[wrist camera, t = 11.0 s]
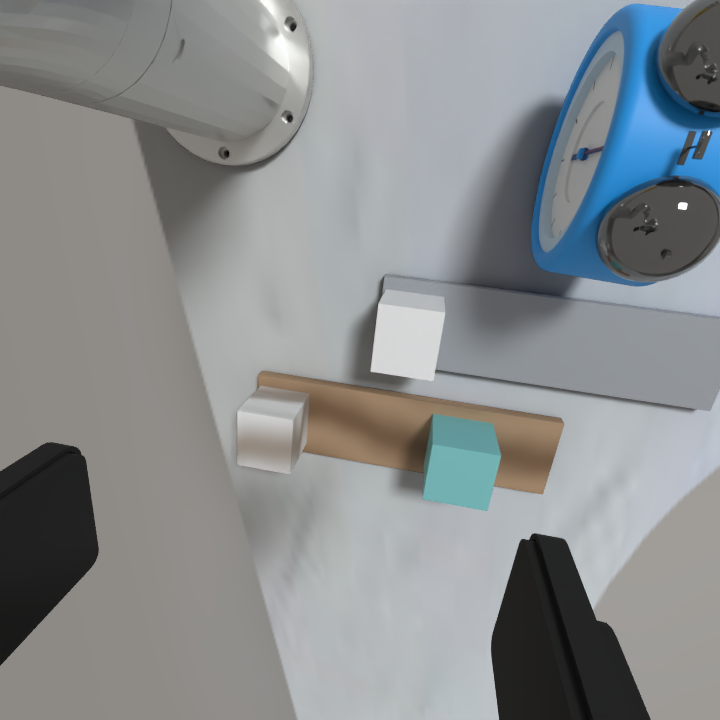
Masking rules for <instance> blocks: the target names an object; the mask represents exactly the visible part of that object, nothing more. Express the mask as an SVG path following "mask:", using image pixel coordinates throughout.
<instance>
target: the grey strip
mask: <svg viewBox="0 0 720 720" xmlns="http://www.w3.org/2000/svg"><path fill="white" fill-rule="evenodd" d="M435 369H436V370H442V371H449V372H456V373H462V374H469V375H475V376H482V377H489V378H495V379H502V380H508V381H515V382H521V383H528V384H535V385H541V386H548V387H554V388H561V389H567V390H574V391H581V392H587V393H594V394H600V395H607V396H613V397H620V398H627V399H633V400H640V401H646V402H653V403H660V404H666V405H673V406H679V407H686V408H692V409H699V410H706V411H710V410H711V408H712V405H713V403H714V401H715V399H716V396H717V394H718V392H719V389H720V317H714V316H706V315H699V314H691V313H683V312H675V311H668V310H660V309H652V308H645V307H637V306H629V305H622V304H614V303H606V302H598V301H591V300H583V299H575V298H568V297H560V296H552V295H544V294H537V293H529V292H521V291H514V290H506V289H498V288H490V287H483V286H475V285H467V284H460V283H452V282H444V281H436V280H429V279H421V278H413V277H406V276H398V275H390V274H385V276H384V284H383V292H382V298H381V300H380V302H379V304H378V312H377V320H376V329H375V337H374V346H373V354H372V362H371V371H370V372H376V373H383V374H389V375H396V376H402V377H409V378H415V379H422V380H428V381H433V380H434V375H435Z"/></svg>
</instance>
